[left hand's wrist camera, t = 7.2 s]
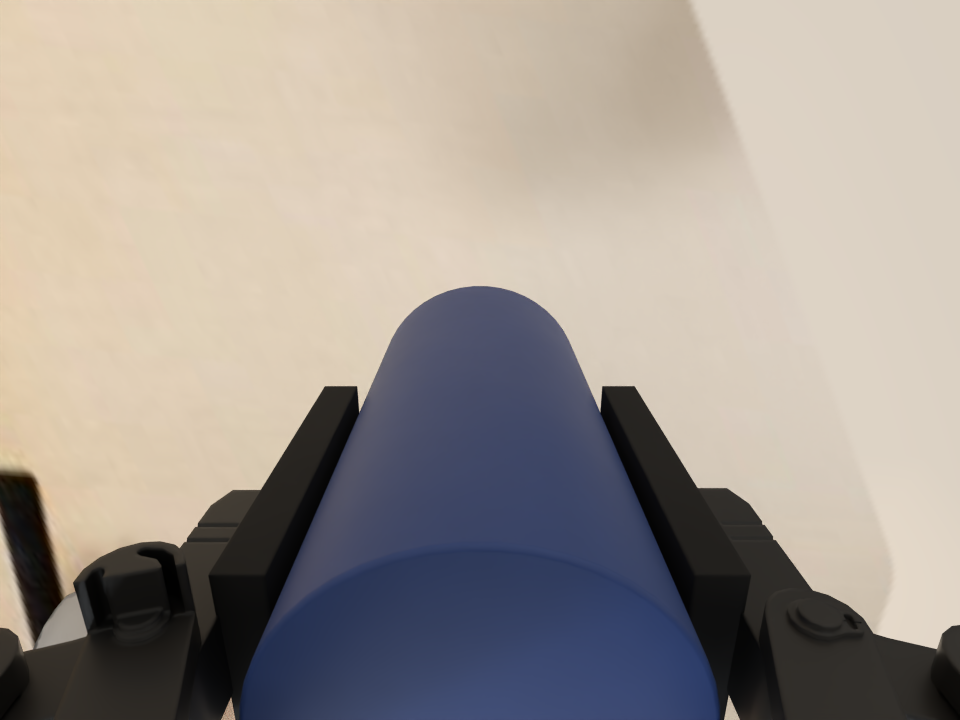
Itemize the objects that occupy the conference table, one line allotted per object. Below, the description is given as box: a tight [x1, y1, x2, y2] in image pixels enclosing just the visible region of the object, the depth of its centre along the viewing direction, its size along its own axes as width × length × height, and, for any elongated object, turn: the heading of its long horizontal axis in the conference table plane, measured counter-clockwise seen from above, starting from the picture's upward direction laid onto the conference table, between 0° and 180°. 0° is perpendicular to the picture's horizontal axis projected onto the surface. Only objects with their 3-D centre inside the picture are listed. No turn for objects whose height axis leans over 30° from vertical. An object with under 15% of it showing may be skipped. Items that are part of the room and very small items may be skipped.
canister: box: [239, 286, 720, 720], centre depth 13 cm, size 6×6×12 cm
